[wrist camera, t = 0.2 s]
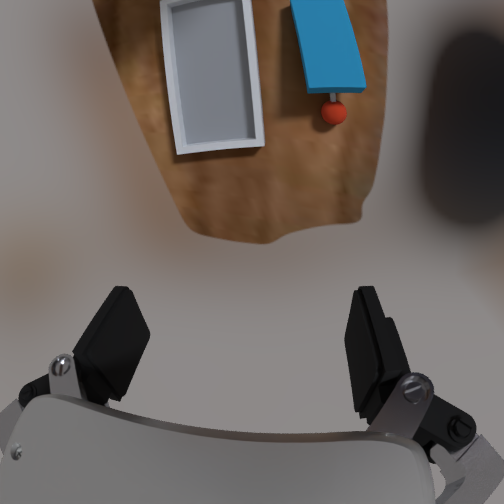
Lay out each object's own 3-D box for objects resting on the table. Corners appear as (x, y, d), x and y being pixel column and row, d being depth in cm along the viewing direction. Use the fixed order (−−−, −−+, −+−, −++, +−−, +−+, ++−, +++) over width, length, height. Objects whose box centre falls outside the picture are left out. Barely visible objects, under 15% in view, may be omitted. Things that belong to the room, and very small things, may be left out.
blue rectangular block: (290, 21, 29) (308, 127, 34) (290, -3, 23) (313, 117, 27) (335, 20, 28) (357, 126, 33) (342, -3, 21) (371, 116, 26)
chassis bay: (166, 5, 25) (159, 0, 23) (249, -11, 23) (248, -17, 21) (182, 151, 37) (177, 154, 35) (265, 143, 36) (264, 146, 34)
